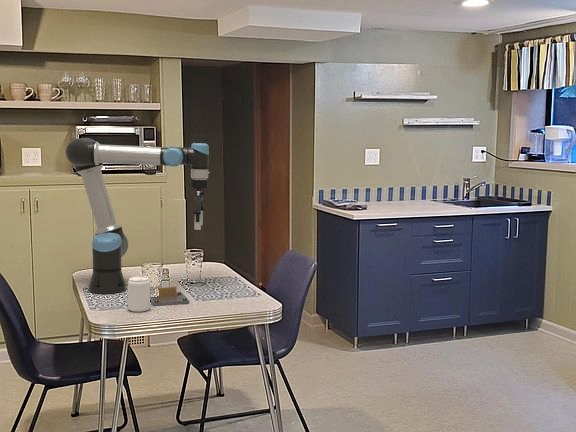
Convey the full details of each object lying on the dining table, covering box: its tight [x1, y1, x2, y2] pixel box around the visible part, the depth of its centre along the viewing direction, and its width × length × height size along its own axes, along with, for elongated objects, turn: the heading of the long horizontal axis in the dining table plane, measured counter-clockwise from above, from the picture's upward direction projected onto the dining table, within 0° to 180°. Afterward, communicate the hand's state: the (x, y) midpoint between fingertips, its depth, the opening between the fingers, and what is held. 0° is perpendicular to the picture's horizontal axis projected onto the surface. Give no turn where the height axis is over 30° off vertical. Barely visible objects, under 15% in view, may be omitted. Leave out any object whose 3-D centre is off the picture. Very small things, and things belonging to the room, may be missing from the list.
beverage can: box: [127, 276, 151, 313], centre depth 264 cm, size 8×8×12 cm
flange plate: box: [150, 286, 190, 307], centre depth 279 cm, size 14×14×4 cm
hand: (198, 227), depth 308 cm, fingers open, 13 cm apart
